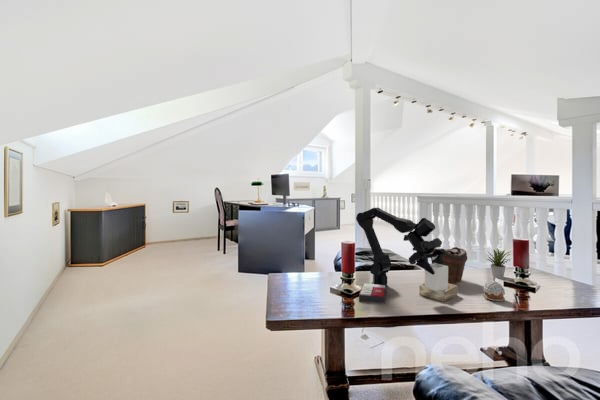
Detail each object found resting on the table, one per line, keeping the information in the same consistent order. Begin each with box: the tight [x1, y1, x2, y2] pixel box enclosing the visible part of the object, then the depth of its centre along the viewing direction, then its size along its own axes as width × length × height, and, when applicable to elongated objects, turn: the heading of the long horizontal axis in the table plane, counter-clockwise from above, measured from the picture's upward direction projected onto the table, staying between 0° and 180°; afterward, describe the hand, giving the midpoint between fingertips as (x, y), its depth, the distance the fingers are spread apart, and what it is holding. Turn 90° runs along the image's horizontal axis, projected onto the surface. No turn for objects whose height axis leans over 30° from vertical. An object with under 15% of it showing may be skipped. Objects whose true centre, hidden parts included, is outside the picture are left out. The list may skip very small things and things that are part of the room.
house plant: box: [486, 247, 514, 279], centre depth 168 cm, size 14×14×16 cm
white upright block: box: [424, 262, 449, 292], centre depth 131 cm, size 6×6×10 cm
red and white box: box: [358, 282, 387, 304], centre depth 140 cm, size 11×4×15 cm
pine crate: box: [418, 282, 458, 302], centre depth 141 cm, size 12×12×4 cm
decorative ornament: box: [483, 265, 506, 302], centre depth 135 cm, size 8×8×15 cm
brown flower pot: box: [430, 247, 468, 284], centre depth 164 cm, size 18×20×18 cm
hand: (439, 272), depth 129 cm, fingers closed on white upright block, 6 cm apart
